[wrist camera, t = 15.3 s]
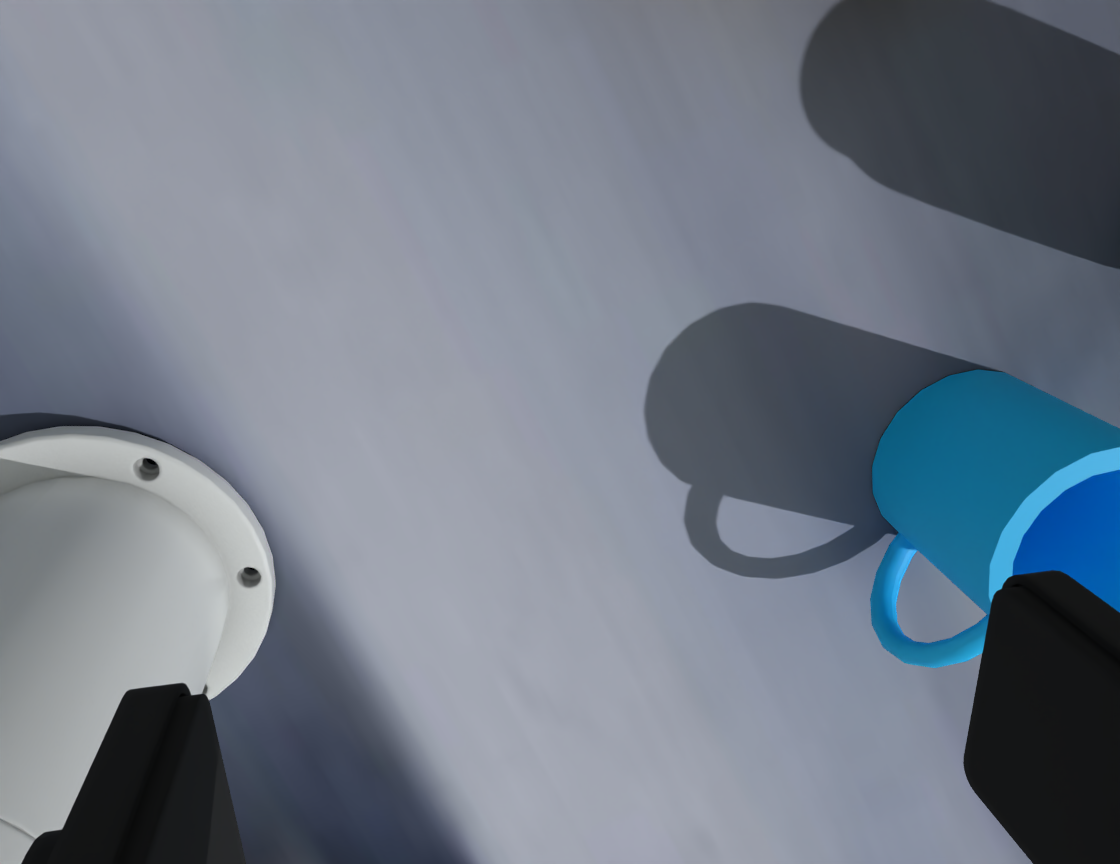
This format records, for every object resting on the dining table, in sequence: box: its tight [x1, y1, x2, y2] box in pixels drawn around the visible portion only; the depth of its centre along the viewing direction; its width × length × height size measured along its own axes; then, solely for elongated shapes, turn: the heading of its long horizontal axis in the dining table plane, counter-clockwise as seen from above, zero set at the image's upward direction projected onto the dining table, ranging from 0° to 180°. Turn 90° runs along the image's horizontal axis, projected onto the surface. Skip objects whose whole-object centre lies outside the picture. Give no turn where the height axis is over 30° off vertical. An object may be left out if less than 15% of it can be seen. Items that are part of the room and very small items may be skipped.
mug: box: [870, 369, 1120, 668], centre depth 34 cm, size 12×8×8 cm
